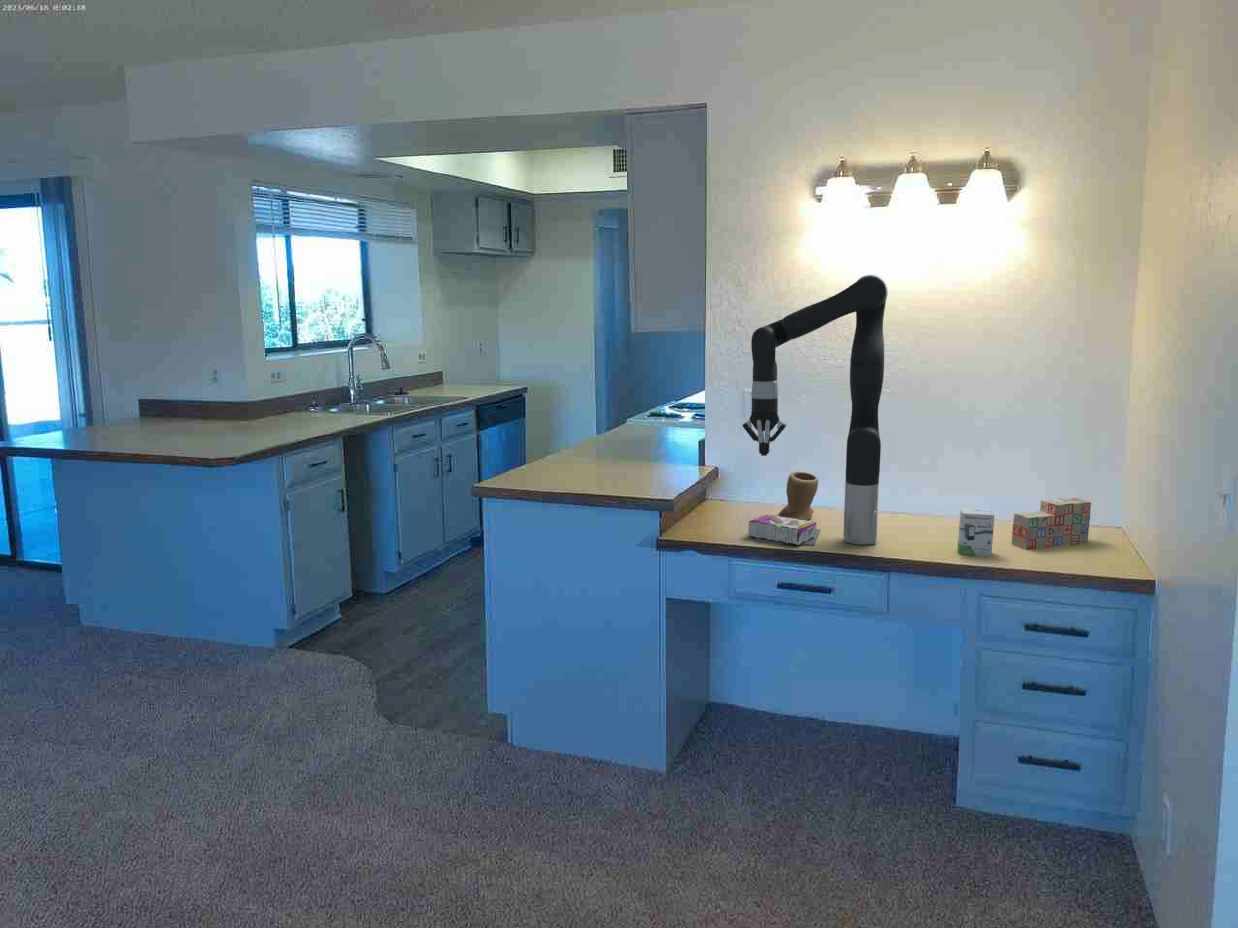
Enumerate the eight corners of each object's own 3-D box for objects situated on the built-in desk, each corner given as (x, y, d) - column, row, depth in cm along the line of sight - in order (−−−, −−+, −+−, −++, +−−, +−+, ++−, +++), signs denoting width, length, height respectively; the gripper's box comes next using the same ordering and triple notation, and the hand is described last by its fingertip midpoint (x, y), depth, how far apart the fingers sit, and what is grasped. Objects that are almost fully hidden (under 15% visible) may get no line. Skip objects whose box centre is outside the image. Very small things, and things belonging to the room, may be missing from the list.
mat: (820, 530, 292) (820, 529, 292) (813, 545, 275) (814, 544, 275) (763, 526, 297) (763, 525, 296) (754, 541, 280) (754, 540, 280)
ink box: (958, 554, 266) (961, 512, 263) (957, 549, 270) (959, 508, 268) (992, 556, 263) (994, 514, 261) (990, 551, 268) (993, 510, 266)
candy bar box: (767, 513, 291) (817, 521, 281) (766, 529, 292) (816, 538, 282) (748, 520, 282) (798, 529, 272) (747, 536, 283) (798, 546, 273)
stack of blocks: (1026, 550, 270) (1029, 507, 267) (1010, 544, 276) (1014, 502, 273) (1088, 543, 276) (1091, 501, 274) (1071, 538, 282) (1075, 496, 280)
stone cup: (812, 526, 297) (814, 478, 294) (774, 522, 302) (775, 475, 299) (822, 515, 311) (824, 469, 308) (786, 512, 315) (787, 466, 312)
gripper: (789, 395, 282) (788, 454, 285) (744, 394, 286) (743, 452, 289) (785, 398, 275) (785, 458, 278) (739, 397, 279) (739, 456, 282)
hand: (764, 455), depth 283 cm, fingers closed
